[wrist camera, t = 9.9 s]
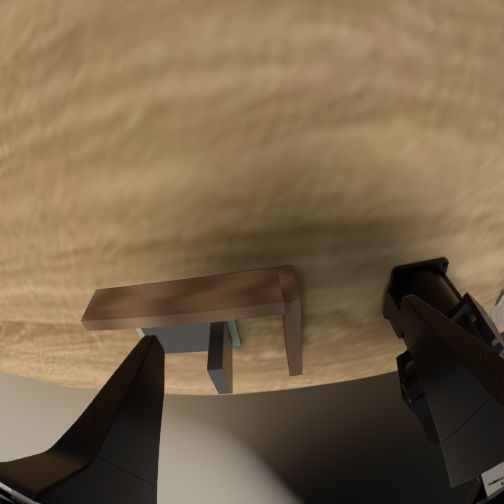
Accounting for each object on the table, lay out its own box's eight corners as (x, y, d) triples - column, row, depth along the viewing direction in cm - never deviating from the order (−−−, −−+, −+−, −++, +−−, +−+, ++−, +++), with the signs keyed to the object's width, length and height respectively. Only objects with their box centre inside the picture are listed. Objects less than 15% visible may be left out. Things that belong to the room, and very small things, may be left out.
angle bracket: (224, 313, 26) (222, 369, 21) (232, 340, 28) (232, 393, 23) (142, 320, 26) (128, 372, 21) (157, 346, 28) (147, 395, 23)
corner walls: (291, 265, 23) (300, 299, 20) (296, 342, 29) (302, 374, 26) (95, 289, 24) (80, 320, 21) (136, 356, 30) (129, 385, 26)
